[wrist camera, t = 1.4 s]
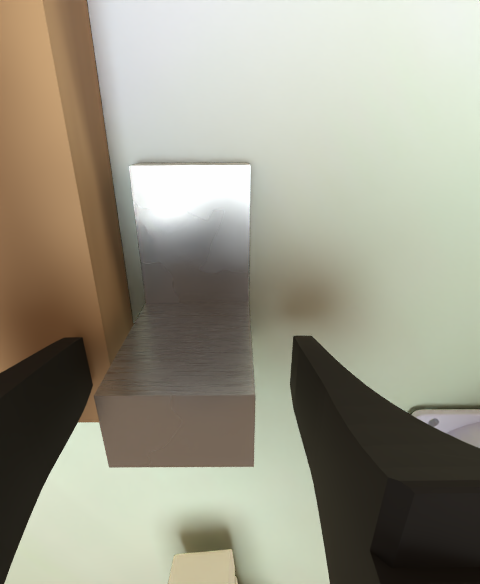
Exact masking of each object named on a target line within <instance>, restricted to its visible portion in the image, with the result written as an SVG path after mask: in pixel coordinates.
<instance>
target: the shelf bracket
mask: <svg viewBox="0 0 480 584" xmlns="http://www.w3.org/2000/svg"><path fill="white" fill-rule="evenodd" d="M168 584H238V582H237V576H235V565H234V559H233V553H232V549H227V550H216V551H205V552H194V553H184V554H177V555H174V558H173V562H172V567H171V572H170V576H169V581H168Z"/></svg>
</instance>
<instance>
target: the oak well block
mask: <svg viewBox="0 0 480 584" xmlns="http://www.w3.org/2000/svg"><path fill="white" fill-rule="evenodd" d="M132 326H133V319H132V312H131V305H130V298H129V291H128V284H127V277H126V271H125V264H124V257H123V250H122V243H121V236H120V229H119V222H118V215H117V208H116V201H115V194H114V187H113V180H112V173H111V166H110V160H109V153H108V146H107V139H106V132H105V125H104V118H103V111H102V104H101V97H100V90H99V83H98V76H97V69H96V62H95V55H94V49H93V42H92V35H91V28H90V21H89V14H88V7H87V0H0V373H1V372H3V371H5V370H7V369H8V368H10V367H12V366H14V365H15V364H17V363H19V362H21V361H22V360H24V359H26V358H28V357H29V356H31V355H33V354H34V353H36V352H38V351H40V350H41V349H43V348H45V347H47V346H48V345H50V344H52V343H54V342H56V341H58V340H60V339H62V338H64V337H83V342H84V346H85V351H86V355H87V360H88V365H89V369H90V374H91V378H92V383H93V387H92V390H91V393H90V396H89V399H88V401H87V404H86V406H85V409H84V411H83V413H82V415H81V417H80V419H79V421H78V422H99V418H98V414H97V409H96V405H95V400H94V394H95V392H96V391H97V389H98V387H99V385H100V384H101V382H102V380H103V378H104V376H105V375H106V373H107V371H108V369H109V367H110V366H111V364H112V362H113V360H114V358H115V357H116V355H117V353H118V351H119V350H120V348H121V346H122V344H123V342H124V341H125V339H126V337H127V335H128V333H129V332H130V330H131V328H132Z"/></svg>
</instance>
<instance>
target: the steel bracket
mask: <svg viewBox="0 0 480 584" xmlns="http://www.w3.org/2000/svg"><path fill="white" fill-rule="evenodd" d="M129 172H130V180H131V188H132V196H133V204H134V213H135V221H136V229H137V237H138V245H139V253H140V261H141V269H142V277H143V285H144V293H145V301H146V303H145V305H144V307H143V308H142V310H141V312H140V314H139V316H138V317H137V319H136V321H135V323H134V324H133V326H132V328H131V330H130V332H129V333H128V335H127V337H126V339H125V341H124V342H123V344H122V346H121V348H120V350H119V351H118V353H117V355H116V357H115V358H114V360H113V362H112V364H111V366H110V367H109V369H108V371H107V373H106V375H105V376H104V378H103V380H102V382H101V384H100V385H99V387H98V389H97V391H96V392H95V394H94V400H95V405H96V409H97V414H98V418H99V423H100V427H101V432H102V437H103V441H104V446H105V450H106V455H107V460H108V464H109V467H254V430H255V384H254V369H253V355H252V340H251V325H250V310H249V251H250V163H137V164H133V165H129Z"/></svg>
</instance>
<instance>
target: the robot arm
mask: <svg viewBox="0 0 480 584" xmlns="http://www.w3.org/2000/svg"><path fill="white" fill-rule="evenodd" d="M92 387H93V383H92V378H91V374H90V369H89V365H88V360H87V355H86V351H85V346H84V342H83V337H64V338H62V339H60V340H58V341H56V342H54V343H52V344H50V345H48V346H47V347H45V348H43V349H41V350H40V351H38V352H36V353H34V354H33V355H31V356H29V357H28V358H26V359H24V360H22V361H21V362H19V363H17V364H15V365H14V366H12V367H10V368H8V369H7V370H5V371H3V372H1V373H0V584H4V582H5V580H6V577H7V574H8V572H9V569H10V566H11V563H12V561H13V558H14V555H15V553H16V550H17V548H18V545H19V543H20V540H21V538H22V535H23V533H24V530H25V528H26V525H27V523H28V520H29V518H30V515H31V513H32V511H33V508H34V506H35V504H36V501H37V499H38V497H39V494H40V492H41V490H42V488H43V486H44V484H45V482H46V480H47V478H48V476H49V474H50V472H51V470H52V468H53V466H54V464H55V463H56V461H57V459H58V457H59V455H60V454H61V452H62V450H63V448H64V446H65V445H66V443H67V441H68V439H69V437H70V436H71V434H72V432H73V430H74V428H75V426H76V425H77V423H78V421H79V419H80V417H81V415H82V413H83V411H84V409H85V406H86V404H87V401H88V399H89V396H90V393H91V390H92ZM290 387H291V394H292V401H293V408H294V413H295V416H296V420H297V424H298V427H299V431H300V434H301V438H302V442H303V445H304V449H305V452H306V456H307V459H308V463H309V467H310V470H311V474H312V479H313V483H314V488H315V494H316V499H317V505H318V511H319V516H320V523H321V529H322V535H323V541H324V547H325V553H326V560H327V566H328V573H329V580H330V584H480V409H424V410H417V411H415V412H413V413H412V414H409V413H407V412H405V411H404V410H402V409H400V408H399V407H397V406H395V405H394V404H392V403H391V402H389V401H388V400H386V399H385V398H383V397H382V396H380V395H379V394H377V393H376V392H375V391H373V390H372V389H370V388H369V387H368V386H366V385H365V384H364V383H363V382H361V381H360V380H359V379H358V378H356V377H355V376H354V375H353V374H352V373H350V372H349V371H348V370H347V369H346V368H345V367H343V366H342V365H341V364H340V363H339V362H338V361H337V360H336V359H335V358H334V357H333V356H332V355H330V354H329V353H328V352H327V351H326V350H325V349H324V348H323V347H322V346H321V345H320V344H319V343H318V342H317V341H316V340H315V339H314V338H313V337H312V336H294V337H293V350H292V364H291V378H290ZM431 419H432V420H431ZM429 420H430V421H429Z"/></svg>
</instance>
